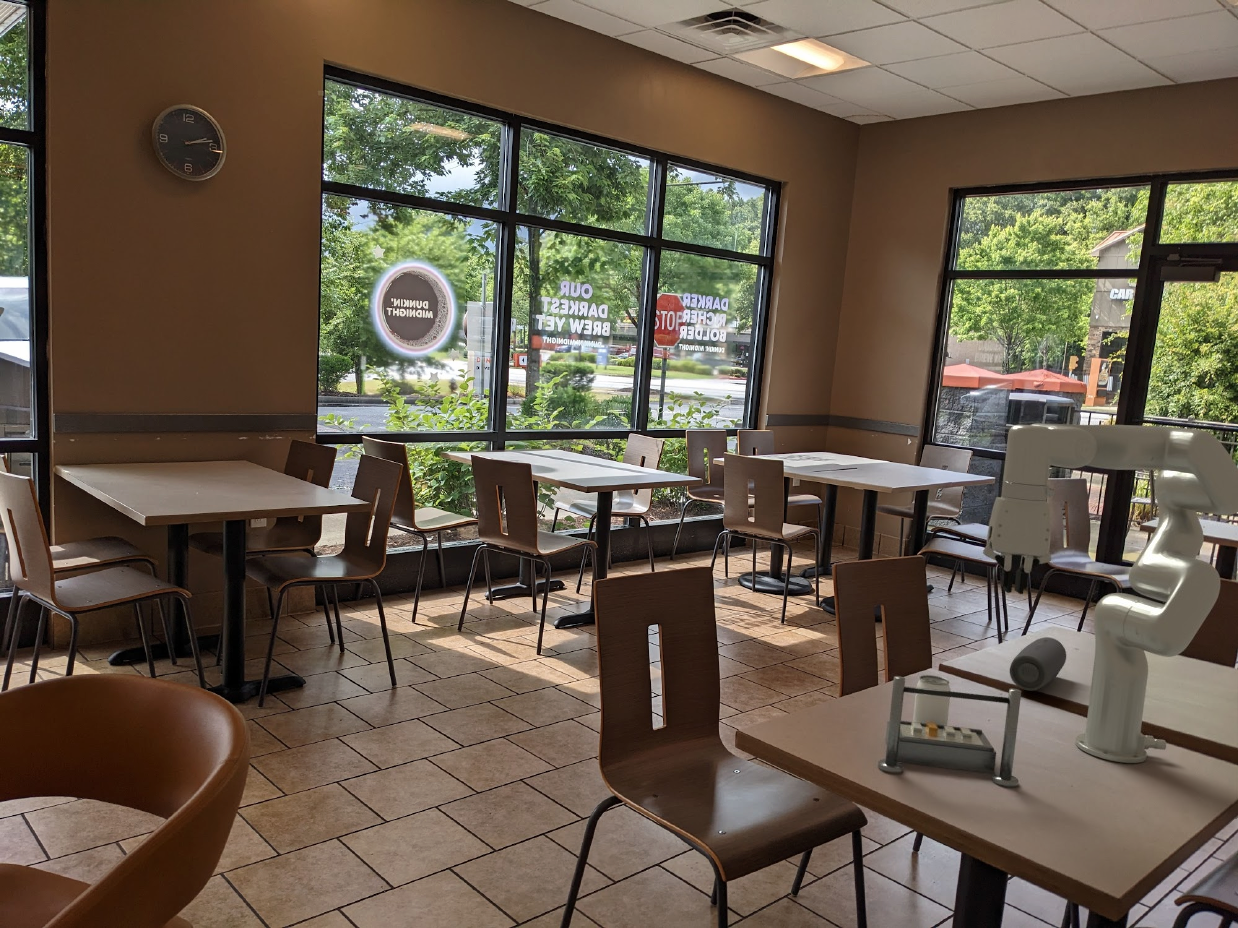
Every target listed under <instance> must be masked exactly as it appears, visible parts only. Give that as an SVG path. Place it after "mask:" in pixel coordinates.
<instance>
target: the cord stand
mask: <svg viewBox="0 0 1238 928" xmlns="http://www.w3.org/2000/svg"><path fill="white" fill-rule="evenodd" d="M892 681H893V682H892V691H891V692H892V693H891V699H890V700H891V702H890V710H889V721H888V722H889V730H888V740H887V745H886V752H885V759H880V760H878V762H877V768H878V769H879V770H880V771H882V772H884V773H886V774H887V773H888V774H893V775H899V774H902V773H904V764H902V763H900V762H897V755H898V746H899V736H900V726H901V721H902V716H903V713H902V712H903V706H904V705H903V704H904V695H905V693H910V694H916V693H917V694H926V695H935V696H944V697H950V698H953V699H954V698H956V699H962V700H974V701H982V702H990V703H998V704H999V703H1003V704H1007V706H1006V715H1005V723H1004V733H1003V741H1002V747H1001V748H1002V750H1001V759H1000V768H999V772H994V774H993V773H991V781H992V783H994V784H995V785H997V786H1000V787H1003V788H1008V789H1009V788H1011V789H1014V788H1017V787H1019V779H1018V778H1017V777H1016V776H1014V775H1013V766H1014V759H1015V758H1014V757H1015V749H1016V741H1017V732H1018V722H1019V716H1020V715H1019V714H1020V709H1021V708H1020V706H1021V697H1022V690H1020V689H1017V688H1014V687H1013V688H1008V696H1007V697H1005V696H995V695H987V694H977V693H968V692H959V691H942V690H933V689H923V688H916V687H912V686H905V684H906V678H905V677H903V676H902V675H901V676H900V675H895V676H893V680H892Z"/></svg>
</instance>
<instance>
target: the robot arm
mask: <svg viewBox="0 0 1238 928" xmlns="http://www.w3.org/2000/svg"><path fill="white" fill-rule="evenodd" d="M1005 450H1006V452H1005V461H1004V469H1003V476H1002V477H1003V478H1002V487H1001V496H1000V497H999V496H997V497H996V498H995V500H994V502H993V503H994V504H993V507H992V509H991V510H992V511H991V513H990V519H989V520H990V521H989V524H988V529H987V536H986V546H985V547H984V549H983V551H982V554H983V556H986V557H987V558H990V559H992V560H994V561H995V562H996V563H997V565H999V567H1001V570H1002V571H1001V577H1000V587H1001V588H1002V590H1003V591H1005V593H1007V594H1010V593H1012V591H1013V583H1014V591H1015V592H1016V593H1018V594H1019V595H1023V594H1024V590H1027V585H1028V578H1029V577H1028V576H1029V573H1031V572H1032V571H1033V569H1034V568H1036V567H1037V566H1038V565H1040V564H1041V565H1043V564H1046V563H1049V562H1050V563H1051V561H1052V556H1051V551H1050V546H1051V535H1052V533H1051V527H1052V525H1051V519H1052V517H1051V508H1050V503H1049V502H1048V501H1047V500H1048V498H1049V497H1055V495H1056V490H1055V489H1054V488H1051V487H1050V486H1049V485H1048V484H1049V477H1050V468H1051V466H1053V467H1060V468H1065V469H1066V468H1067V469H1078V468H1082V467H1085V466H1087V467H1092V468H1098V469H1106V470H1118V471H1119V470H1121V471H1122V470H1123V471H1124V470H1125V471H1128V470H1129V471H1135V470H1136V471H1137V470H1139V471H1143V470H1144V471H1159V472H1158V473H1157V475H1156V478H1155V480H1154V492H1155V498H1156V502H1157V508H1158V523H1157V527H1156V528H1155V530H1154V532H1153V533H1152V535H1151V537H1150V538H1149V540H1148V541H1147V542H1146V544H1145V546H1144V548H1143V550H1142V551H1141V553H1140V554H1139V556H1138V557H1137V558H1136V560H1135V562H1133V563H1134V564H1133V565H1132V567H1131V569H1130V571H1129V572H1128V573H1129V574H1128V583H1129V586H1130V587H1131V588H1132V589H1133V590H1134V591H1135V592H1136V593H1139V594H1140V595H1142V596H1145V597H1148V598H1144V597H1140V596H1136V595H1134V594H1128V593H1123V592H1115V593H1113V592H1112V593H1108V594H1107V595H1104V596H1103V597H1102V598H1100V600H1098V601H1097V603H1096V605H1095V609H1094V611H1093V627H1094V636H1095V637H1094V639H1095V640H1094V641H1095V648H1094V649H1095V650H1094V661H1093V668H1092V676H1091V677H1092V678H1091V685H1090V693H1089V701H1088V709H1087V717H1086V726H1085V727H1086V728H1085V732H1084V733H1081V734H1078V735H1077V736H1076V737H1075V745H1076V746H1077V747H1078V748H1079V749H1080V750H1081V751H1083V752H1084V753H1087V754H1089V755H1092V756H1094V757H1097V758H1100V759H1104V760H1107V761H1110V762H1111V761H1112V762H1117V763H1126V764H1138V763H1142V762H1144V761H1146V760H1147V756H1148V753H1147V751H1146V750H1149V749H1154V750H1160V751H1161V750H1162V751H1165V750H1167V749H1166V748H1167V742H1166V740H1165V739H1157V738H1154V736H1153V735H1144V734H1143V733H1142V732H1141V730H1142V724H1143V723H1142V722H1143V716H1144V715H1143V714H1144V707H1145V701H1146V699H1145V698H1146V693H1147V683H1148V677H1149V665H1148V664H1149V663H1148V660H1147V656H1146V652H1147V653H1151V654H1153V655H1157V656H1159V657H1165V658H1171V657H1176V656H1178V655H1180V654H1181V653H1182V652H1184V651H1185V650H1186V649H1187V647H1188V646H1189V644H1190V643H1191V642H1192V641H1193V639H1194V637H1195V635H1196V634H1197V633H1198V631H1199V629H1200V628H1201V626H1202V625H1203V623H1204V621H1206V618H1207V617H1208V615H1209V614H1210V613H1211V610H1212V609H1213V607H1214V605H1215V604H1216V602H1217V600H1218V598H1219V594H1220V592H1221V591H1220V590H1221V577H1220V574H1219V572H1218V571H1217V569H1216V567H1214V566H1213V565H1212V564H1211V563H1209V562H1207V561H1204V560H1203V559H1202V560H1201V559H1197V556H1198V554H1199V552H1200V550H1201V549H1202V547H1203V544H1204V539H1205V538H1204V537H1205V536H1204V531H1203V528H1202V525H1201V522H1200V519H1199V516H1198V513H1197V512H1200V513H1201V512H1202V513H1205V514H1213V515H1218V516H1231V515H1232V516H1233V515H1235V514H1237V513H1238V466H1237V464H1236V463H1235V461H1234V460H1233V458H1232V456H1231V455H1230V454H1229V452H1228V450H1227V449H1226V448H1225V446H1224V445H1223V444H1222V443H1221V442H1220V440H1219V439H1218V438H1217V437H1215V436H1214V434H1211V433H1210V432H1209V431H1207V430H1204V429H1197V428H1196V429H1195V428H1184V427H1183V428H1181V427H1173V426H1172V427H1171V426H1161V425H1159V426H1157V425H1133V424H1132V425H1130V424H1129V425H1128V424H1127V425H1125V424H1065V423H1063V424H1062V423H1042V422H1041V423H1032V424H1014V425H1013V426H1011V427H1010V428H1009V430H1008V435H1007V444H1006V449H1005ZM1013 555H1014V556H1016V555H1017V556H1021V559H1020V566H1019V568H1018V569H1017V570H1016V573H1015V582H1013V581H1014V571H1013V569H1012V568H1013V567H1012V558H1013ZM1149 598H1151V599H1153V600H1157V601H1160V602H1163V603H1164V604H1163V603H1159V602H1157V601H1153V600H1151V599H1149Z"/></svg>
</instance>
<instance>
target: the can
mask: <svg viewBox="0 0 1238 928" xmlns="http://www.w3.org/2000/svg"><path fill="white" fill-rule="evenodd" d="M915 688H923V689H933V690H942V691H951V687H950V681H949V680H948V679H947V678H944V677H941V676H938V675H937V676H936V675H931V674H930V675H928V674H926V675H920V676H919V680H918V682H917V683H916V687H915ZM951 692H952V691H951ZM950 701H951V697H944V696H935V695H926V694H917V693H915V697H914V706H913V717H912V722H918V723H926V722H930V723H935V724H936V725H944V726H948V722H949V713H950V712H949V710H950V703H951V702H950Z"/></svg>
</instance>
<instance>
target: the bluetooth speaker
mask: <svg viewBox="0 0 1238 928" xmlns="http://www.w3.org/2000/svg"><path fill="white" fill-rule="evenodd" d="M1066 660H1067V651H1066V649H1065V646H1064V645H1063V644H1062V643H1061V642H1060V641H1059V640H1057V639H1056V638H1053V637H1048V636H1047V637H1040V638H1037V639H1036V640H1034V641H1033V642H1031V643H1030V644H1029V643H1028V644H1027V645H1026V646H1025V647H1023V648H1022V650H1021V651H1020V652H1019V653H1017V655H1015V657H1014V658H1013V660H1012V661H1011V663H1010V667H1009V676H1010V679H1011V680H1012V682H1013V683H1014V685H1016V686H1017V687H1018V688H1020V689H1022V690H1025V691H1032V692H1033V691H1038V690H1037V689H1039V690H1041V689H1042V688H1043V687H1045V686H1046V685H1048V684H1049V683H1050V682H1052V681H1053V680H1054V679H1055V678H1056V677H1057V676H1058V675H1059V673H1060V672H1061V670H1062V669H1063V667H1064V666H1065V663H1066ZM1040 688H1041V689H1040Z"/></svg>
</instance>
